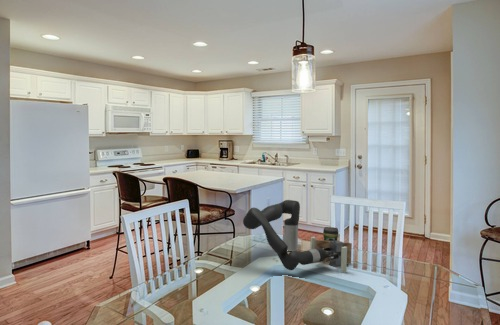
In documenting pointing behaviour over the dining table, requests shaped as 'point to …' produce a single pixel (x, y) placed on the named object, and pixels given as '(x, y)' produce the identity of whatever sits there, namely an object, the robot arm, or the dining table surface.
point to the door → (327, 245)
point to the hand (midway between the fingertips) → (334, 251)
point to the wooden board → (343, 255)
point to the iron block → (335, 247)
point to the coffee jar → (330, 233)
